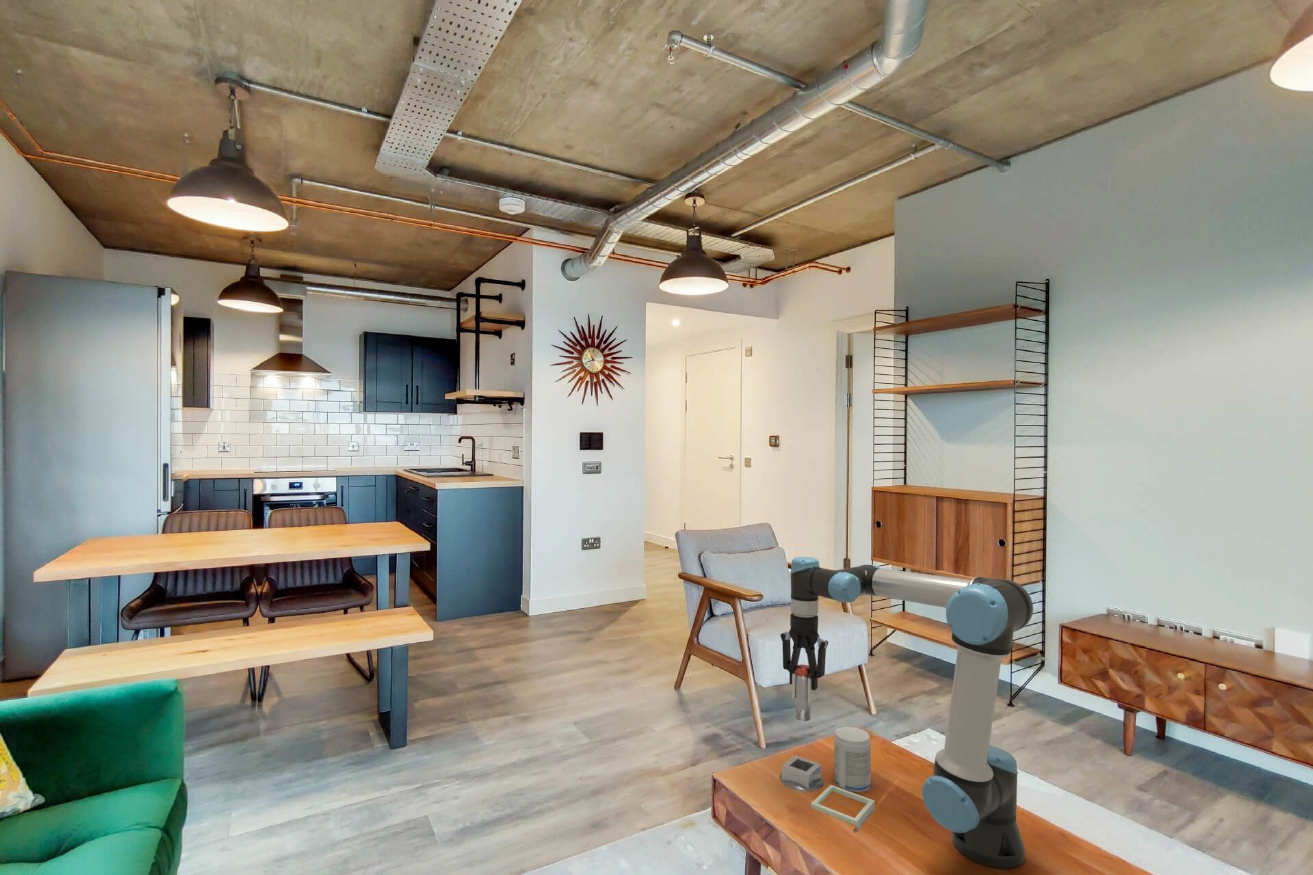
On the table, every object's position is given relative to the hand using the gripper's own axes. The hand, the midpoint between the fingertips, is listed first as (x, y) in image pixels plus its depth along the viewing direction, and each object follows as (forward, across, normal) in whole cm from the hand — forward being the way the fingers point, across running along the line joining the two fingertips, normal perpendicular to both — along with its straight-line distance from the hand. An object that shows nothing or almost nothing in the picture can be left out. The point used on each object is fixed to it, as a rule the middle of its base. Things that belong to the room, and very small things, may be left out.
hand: (803, 698), depth 177 cm
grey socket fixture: (+24, 0, 0) cm, 24 cm away
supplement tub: (+24, -11, -8) cm, 28 cm away
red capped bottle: (+5, 0, 0) cm, 5 cm away
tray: (+24, -14, +5) cm, 28 cm away
